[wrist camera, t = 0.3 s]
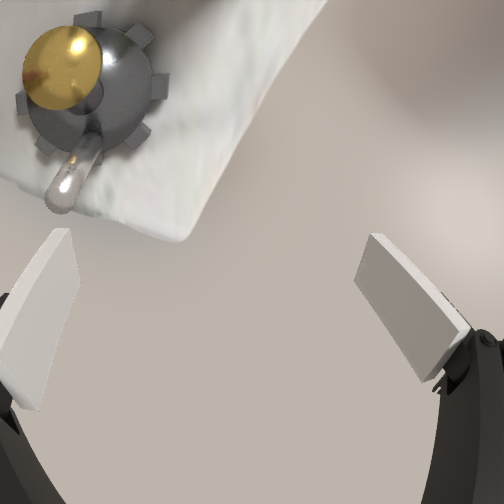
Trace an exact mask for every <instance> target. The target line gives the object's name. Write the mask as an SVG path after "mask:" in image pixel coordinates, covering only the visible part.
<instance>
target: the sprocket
mask: <svg viewBox="0 0 504 504" xmlns="http://www.w3.org/2000/svg"><path fill="white" fill-rule="evenodd" d="M101 17H102V11H95V12H89V13H83V14H78V15H74V24H73V26H62V27H58V28H54V29H52V30H50V31H48V32H46V33H45V34H43V35H42V36H41V37H39V38H38V39H37V40H36V41H35V42H34V44H33V45H32V46H31V48H30V49H29V51H28V53H27V55H26V57H25V61H24V65H23V71H22V77H23V84H24V87H25V90H23V91H21V92H19V93H17V94H16V95H15V96H16V105H17V112H18V115H21V114H26V113H29V115H30V118H31V120H32V122H33V124H34V126H35V128H36V129H37V131H38V132H39V133H40V134H41V135H40V137H39V139H38V140H37V142H36V143H35V146H36V147H38V148H39V149H40V150H41V151H43V152H44V153H45V154H46V155H48V156H50V155H51V154H52V153H53V151H54V150H55V148H56V147H57V148H59V149H61V150H63V151H66V152H70V153H71V154H70V155H69V157H68V158H67V160H66V161H65V163H64V164H63V166H62V167H61V169H60V170H59V172H58V173H57V175H56V176H55V178H54V180H53V181H52V183H51V185H50V186H49V188H48V190H47V191H46V193H45V196H44V200H45V204H46V206H47V207H48V208H49V209H50V210H51V211H52V212H54V213H57V214H66V213H68V212H69V211H70V210H71V209H72V207H73V205H74V202H75V200H76V198H77V196H78V194H79V192H80V189H81V187H82V185H83V183H84V181H85V179H86V177H87V175H88V173H89V171H90V169H91V167H92V166H97V165H101V164H102V162H103V160H104V155H103V151H106V150H108V149H111V148H113V147H115V146H117V145H118V144H120V143H121V142H123V141H124V142H125V143H126V144H127V145H128V146H130V147H131V148H132V149H133V150H135V149H136V148H137V147H138V146H139V145H140V144H141V143H142V142H143V141H145V140H146V139H147V138H148V137H149V136H150V134H151V129H149V128H148V127H147V126H146V125H145V124H144V123H143V122H142V119H143V117H144V115H145V114H146V111H147V109H148V107H149V104H150V101H151V100H156V99H167V98H168V90H169V76H170V74H153V70H152V66H151V62H150V60H149V57H148V55H147V53H146V52H145V50H144V49H143V48H144V47H146V46H147V45H148V44H149V43H150V42H151V41H152V40H154V39H155V38H156V36H154V35H153V34H152V33H151V32H150V31H149V30H148V29H147V28H146V27H145V26H144V25H143V24H142V23H141V22H137V23H136V24H135V25H134V26H133V27H132V28H131V29H129V30H128V31H127V32H126V33H125V32H123V31H121V30H118V29H116V28H111V27H106V26H101Z"/></svg>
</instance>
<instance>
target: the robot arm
mask: <svg viewBox="0 0 504 504" xmlns="http://www.w3.org/2000/svg"><path fill="white" fill-rule="evenodd" d="M354 282H355V283H356V285H357V286H358V288H359V289H360V291H361V292H362V293H363V295H364V296H365V298H366V299H367V300H368V302H369V303H370V305H371V306H372V307H373V309H374V310H375V312H376V313H377V315H378V316H379V317H380V319H381V321H382V322H383V323H384V325H385V326H386V328H387V330H388V331H389V333H390V334H391V335H392V337H393V339H394V340H395V341H396V343H397V345H398V346H399V348H400V349H401V351H402V352H403V354H404V355H405V357H406V358H407V360H408V361H409V363H410V365H411V366H412V368H413V370H414V371H415V373H416V374H417V376H418V378H419V379H420V381H421V382H422V383H423V382H426V381H428V380H431V379H434V378H435V376H437V374H438V373H439V372H440V370H441V369H442V368H443V369H444V370H445V372H446V373H445V374H444V375H443V377H442V378H441V379H440V380H439V382H438V383H437V384H436V385H435V386H434V387H433V390H432V392H435V391H436V390H437V388H438V387H441V389H440V390H439V391H438V392H437V393H438V394H440V406H439V415H438V423H437V430H436V437H435V444H434V449H433V455H432V460H431V465H430V470H429V474H428V479H427V482H426V487H425V491H424V494H423V498H422V501H421V504H504V339H503V340H502V341H497V340H496V338H495V337H494V336H493V335H492V334H490V333H489V332H488V331H486V330H482V329H480V330H477V331H475V330H474V329H473V328H472V327H471V326H470V325H469V323H468V322H467V321H466V320H465V318H464V317H463V316H462V315H461V314H460V313H459V311H458V310H457V309H455V307H454V306H453V305H452V304H451V303H449V300H448V299H447V298H446V297H445V296H444V295H443V293H441V292H440V291H439V290H438V289H437V288H436V287H435V286H434V285H433V284H432V283H431V282H430V281H429V280H428V279H427V278H426V277H425V275H424V274H423V273H422V272H421V271H420V270H419V269H418V268H417V267H416V266H415V265H414V264H413V263H412V262H411V261H410V260H409V259H408V258H407V257H406V256H405V255H404V254H403V253H402V252H401V251H400V250H398V248H396V247H395V245H394V244H393V243H391V241H389V240H388V239H387V238H386V237H385V236H384V235H383V234H376V233H370V235H369V238H368V241H367V244H366V247H365V250H364V253H363V256H362V259H361V262H360V265H359V268H358V270H357V273H356V276H355V279H354ZM80 285H81V279H80V276H79V271H78V266H77V262H76V257H75V252H74V247H73V243H72V237H71V231H70V228H54V229H53V231H52V232H51V233H50V235H49V236H48V237H47V239H46V240H45V241H44V243H43V244H42V245H41V247H40V248H39V250H38V251H37V252H36V254H35V255H34V257H33V258H32V260H31V261H30V263H29V264H28V265H27V267H26V268H25V270H24V271H23V273H22V274H21V276H20V278H19V279H18V281H17V282H16V284H15V286H14V287H13V289H12V290H11V292H10V293H4V294H3V295H2V296H1V297H0V504H66V503H65V502H64V500H63V499H62V498H61V496H60V495H59V493H58V492H57V490H56V489H55V487H54V486H53V484H52V482H51V481H50V479H49V478H48V476H47V475H46V473H45V471H44V469H43V468H42V466H41V464H40V463H39V461H38V459H37V457H36V456H35V454H34V452H33V450H32V448H31V446H30V444H29V442H28V440H27V438H26V436H25V434H24V432H23V430H22V428H21V426H20V424H19V421H18V419H17V417H16V415H15V412H14V411H13V410H12V408H11V407H10V406H11V403H12V399H14V400H15V401H16V402H17V404H18V405H19V406H20V407H21V408H23V409H28V410H32V411H36V412H40V408H41V404H42V400H43V395H44V392H45V388H46V384H47V380H48V377H49V373H50V369H51V366H52V363H53V359H54V356H55V353H56V350H57V347H58V344H59V341H60V338H61V335H62V332H63V329H64V326H65V323H66V321H67V318H68V315H69V312H70V310H71V307H72V305H73V302H74V299H75V297H76V295H77V292H78V290H79V287H80Z"/></svg>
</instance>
